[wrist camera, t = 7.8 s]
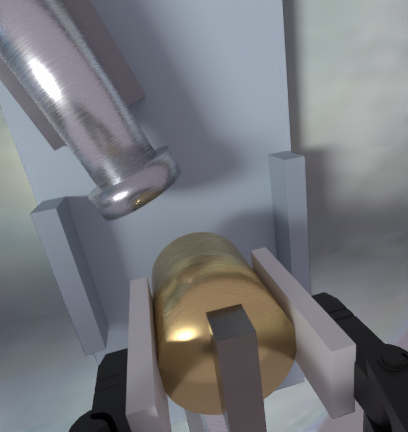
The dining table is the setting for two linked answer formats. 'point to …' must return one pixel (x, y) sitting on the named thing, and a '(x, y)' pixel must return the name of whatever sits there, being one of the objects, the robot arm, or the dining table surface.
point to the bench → (185, 156)
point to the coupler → (218, 331)
